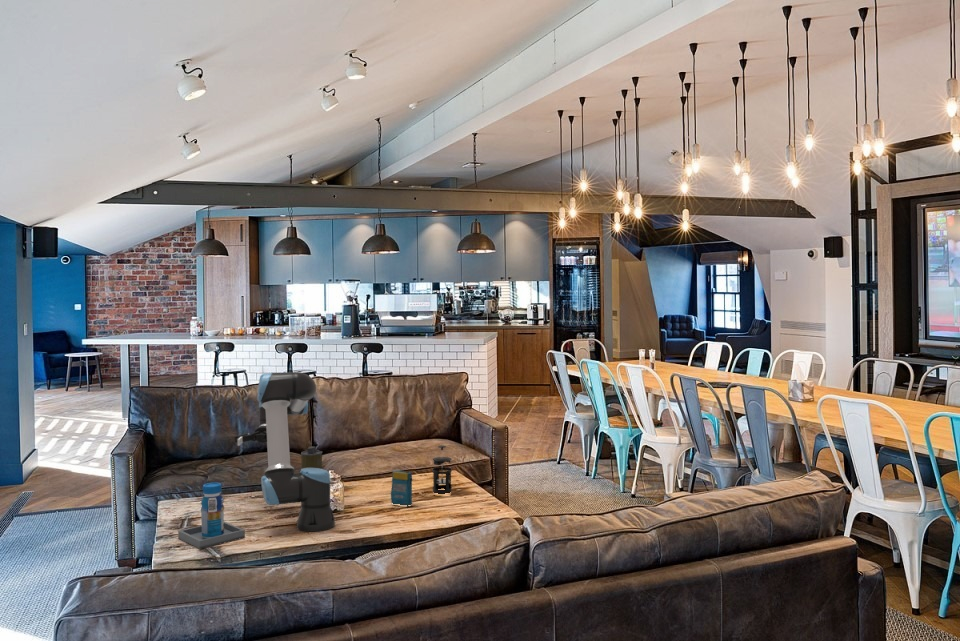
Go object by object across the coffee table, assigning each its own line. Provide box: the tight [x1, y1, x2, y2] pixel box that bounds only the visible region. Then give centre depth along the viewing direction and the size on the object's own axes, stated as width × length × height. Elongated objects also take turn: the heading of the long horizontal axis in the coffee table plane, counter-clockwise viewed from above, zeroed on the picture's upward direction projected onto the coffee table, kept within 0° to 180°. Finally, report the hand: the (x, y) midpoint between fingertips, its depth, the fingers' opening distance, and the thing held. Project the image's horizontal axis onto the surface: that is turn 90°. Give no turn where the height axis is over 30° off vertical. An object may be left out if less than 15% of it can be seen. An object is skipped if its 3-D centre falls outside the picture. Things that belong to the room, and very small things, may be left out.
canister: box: [300, 446, 323, 470], centre depth 357 cm, size 11×10×20 cm
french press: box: [432, 445, 453, 494], centre depth 343 cm, size 12×9×23 cm
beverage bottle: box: [200, 482, 225, 539], centre depth 279 cm, size 8×8×20 cm
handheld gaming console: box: [390, 470, 413, 506], centre depth 323 cm, size 10×4×15 cm, turn 65°
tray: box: [177, 521, 246, 550], centre depth 279 cm, size 18×18×3 cm
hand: (255, 442), depth 306 cm, fingers open, 13 cm apart
